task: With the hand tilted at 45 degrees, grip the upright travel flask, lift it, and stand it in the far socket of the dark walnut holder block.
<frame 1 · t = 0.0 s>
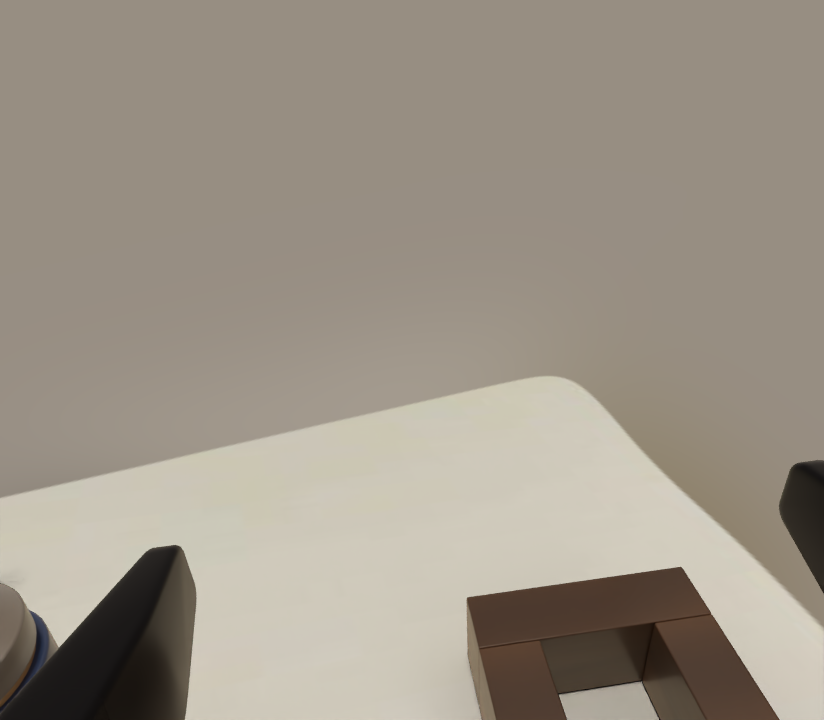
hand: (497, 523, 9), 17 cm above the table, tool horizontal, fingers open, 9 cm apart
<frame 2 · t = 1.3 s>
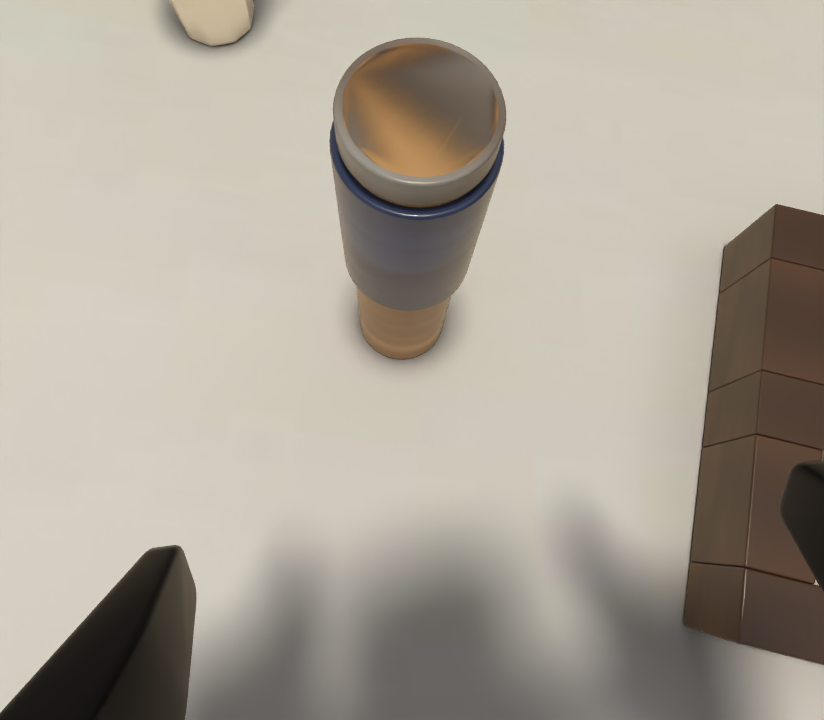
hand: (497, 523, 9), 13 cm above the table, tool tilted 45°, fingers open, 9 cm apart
travel flask: (401, 320, 24), on the table
holder: (815, 446, 23), on the table
milkshake: (227, 19, 28), on the table
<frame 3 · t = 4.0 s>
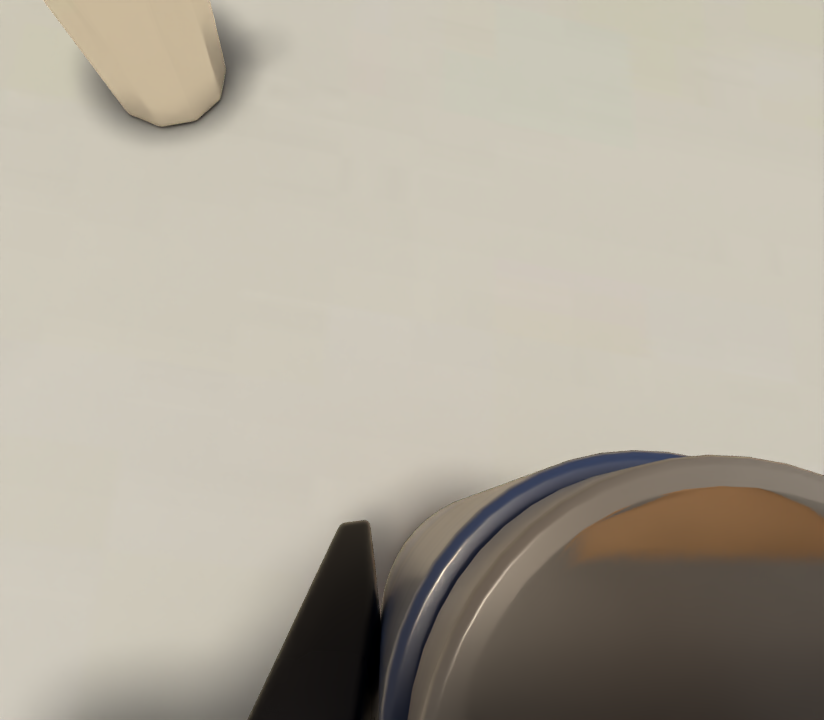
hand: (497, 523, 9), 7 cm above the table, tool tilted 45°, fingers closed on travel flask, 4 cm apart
travel flask: (457, 584, 15), on the table, touching gripper
milkshake: (187, 83, 19), on the table
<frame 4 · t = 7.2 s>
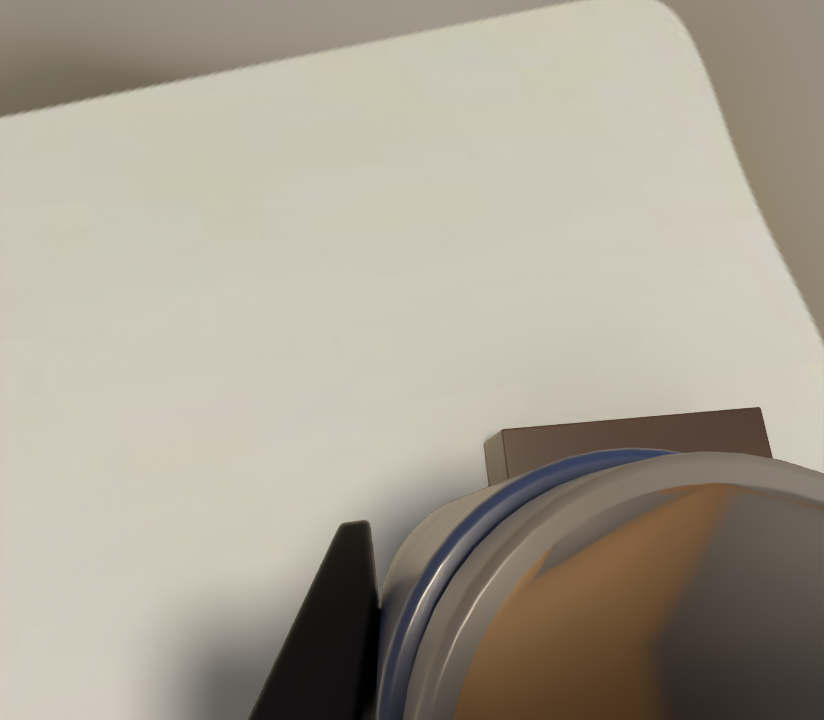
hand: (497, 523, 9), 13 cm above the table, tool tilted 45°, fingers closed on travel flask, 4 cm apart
travel flask: (456, 583, 15), point 7 cm above the table, touching gripper
holder: (633, 649, 21), on the table
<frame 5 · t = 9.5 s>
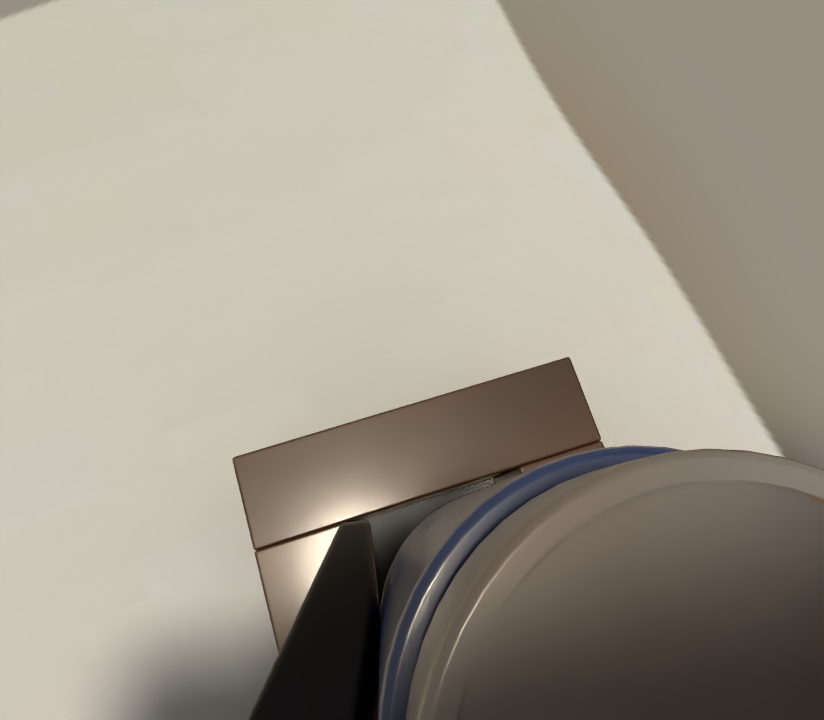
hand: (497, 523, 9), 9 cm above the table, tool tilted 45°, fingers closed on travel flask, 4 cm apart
travel flask: (457, 582, 15), point 2 cm above the table, touching gripper
holder: (484, 692, 17), on the table
when the fingers open (7 cm above the table, at t = 10.7 s): travel flask stays where it is, resting in holder.
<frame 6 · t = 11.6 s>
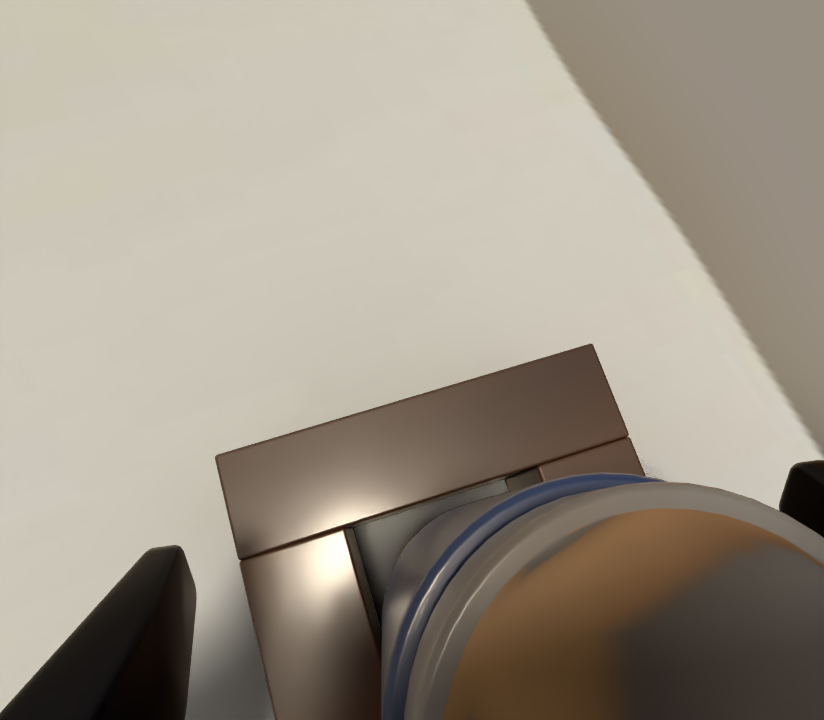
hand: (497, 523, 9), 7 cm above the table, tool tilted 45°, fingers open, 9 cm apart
travel flask: (454, 585, 16), resting in holder
holder: (496, 717, 15), on the table
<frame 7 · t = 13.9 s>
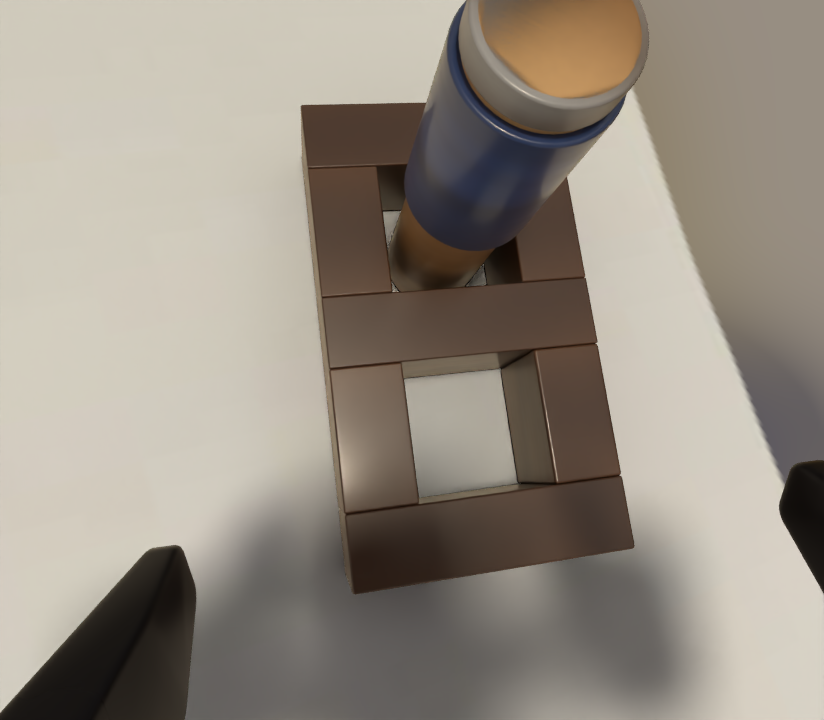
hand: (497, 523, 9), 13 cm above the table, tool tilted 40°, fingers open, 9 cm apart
travel flask: (428, 262, 23), resting in holder
holder: (440, 344, 22), on the table
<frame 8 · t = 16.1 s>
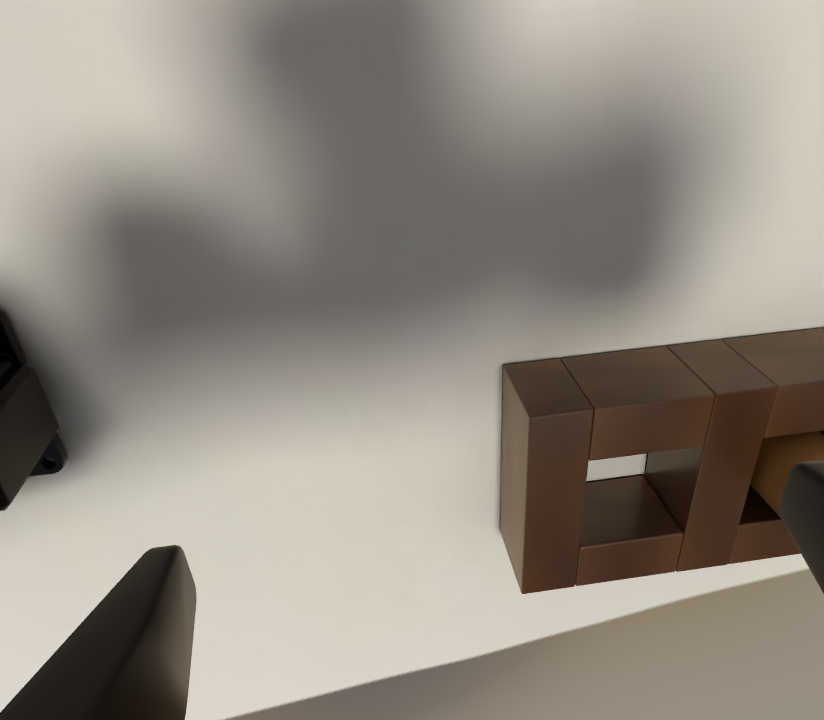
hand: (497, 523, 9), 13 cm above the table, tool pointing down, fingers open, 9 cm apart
travel flask: (747, 422, 26), resting in holder
holder: (675, 432, 26), on the table
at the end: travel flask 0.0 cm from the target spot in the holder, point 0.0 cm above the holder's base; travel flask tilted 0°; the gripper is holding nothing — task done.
